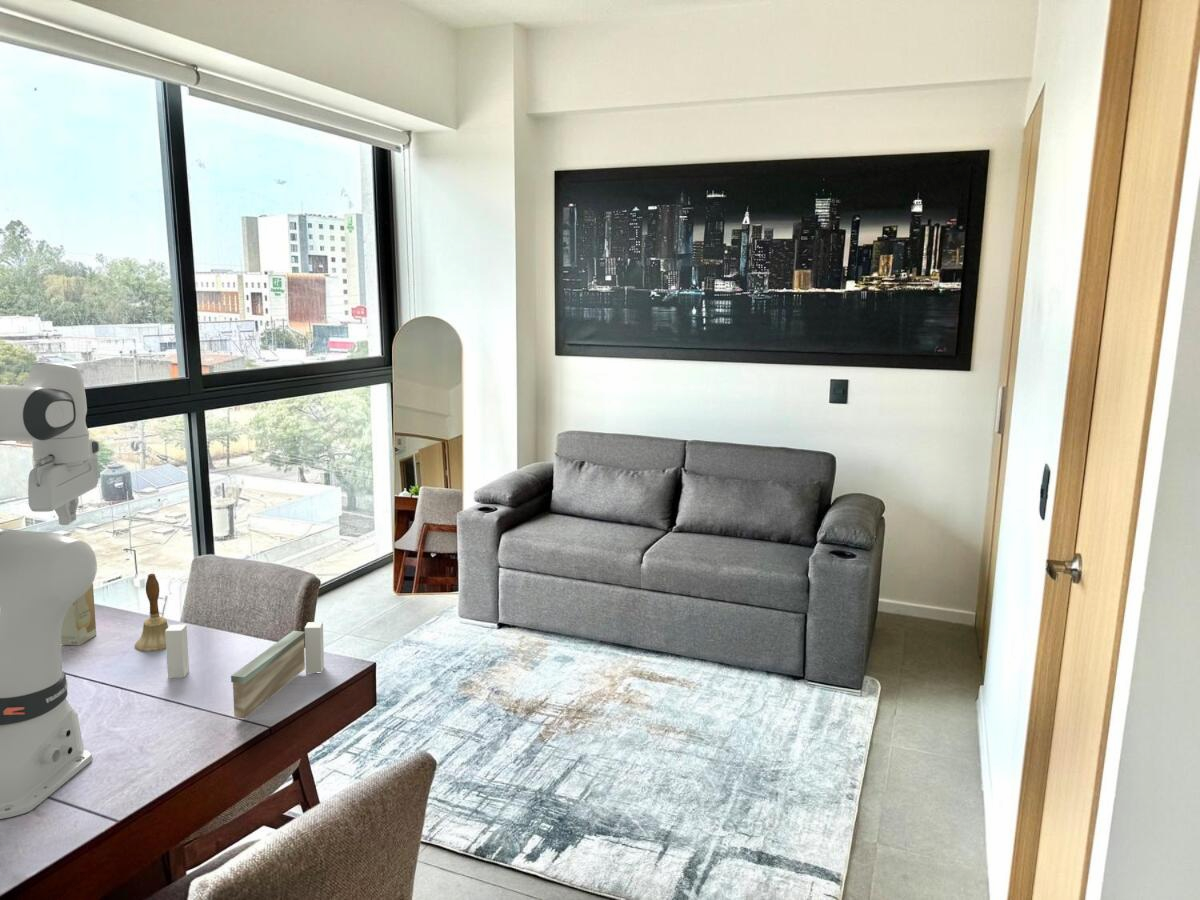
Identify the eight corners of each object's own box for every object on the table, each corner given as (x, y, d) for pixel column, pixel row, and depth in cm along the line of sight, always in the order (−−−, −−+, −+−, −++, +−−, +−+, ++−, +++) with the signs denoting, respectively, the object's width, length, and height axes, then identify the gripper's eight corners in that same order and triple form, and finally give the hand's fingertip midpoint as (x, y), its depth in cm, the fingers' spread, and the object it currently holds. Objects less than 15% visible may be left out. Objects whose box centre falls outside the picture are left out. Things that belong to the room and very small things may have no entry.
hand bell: (174, 649, 178) (170, 578, 175) (130, 653, 175) (125, 581, 172) (180, 634, 185) (176, 566, 183) (139, 638, 183) (134, 569, 180)
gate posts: (321, 673, 169) (320, 627, 167) (168, 678, 164) (165, 630, 163) (324, 667, 172) (322, 621, 170) (173, 671, 167) (170, 624, 166)
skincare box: (79, 646, 178) (75, 592, 175) (59, 645, 178) (55, 591, 176) (98, 634, 184) (94, 582, 182) (78, 633, 184) (74, 581, 182)
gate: (306, 668, 168) (305, 631, 167) (246, 719, 148) (244, 677, 146) (294, 667, 169) (293, 630, 167) (232, 717, 148) (231, 675, 147)
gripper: (54, 461, 142) (60, 538, 144) (103, 441, 162) (108, 509, 164) (13, 461, 141) (21, 539, 143) (67, 440, 161) (73, 509, 163)
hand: (67, 523), depth 154 cm, fingers closed
